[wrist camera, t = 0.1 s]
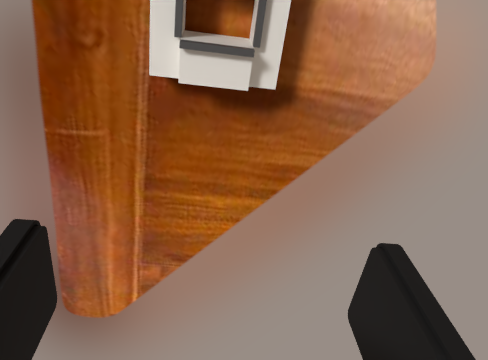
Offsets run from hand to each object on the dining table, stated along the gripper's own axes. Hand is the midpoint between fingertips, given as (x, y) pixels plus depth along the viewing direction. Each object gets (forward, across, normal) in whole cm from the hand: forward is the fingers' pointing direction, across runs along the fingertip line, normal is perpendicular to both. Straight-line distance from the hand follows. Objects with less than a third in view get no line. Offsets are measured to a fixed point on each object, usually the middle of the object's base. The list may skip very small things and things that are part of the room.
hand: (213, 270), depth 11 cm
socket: (+31, 0, -5) cm, 31 cm away
